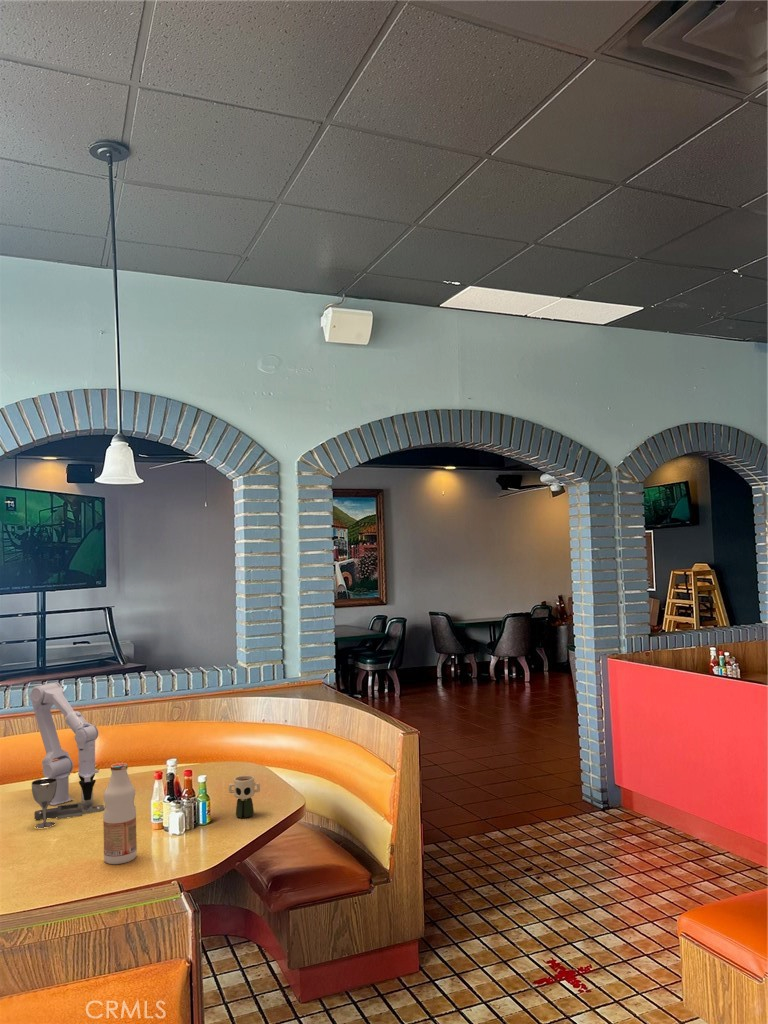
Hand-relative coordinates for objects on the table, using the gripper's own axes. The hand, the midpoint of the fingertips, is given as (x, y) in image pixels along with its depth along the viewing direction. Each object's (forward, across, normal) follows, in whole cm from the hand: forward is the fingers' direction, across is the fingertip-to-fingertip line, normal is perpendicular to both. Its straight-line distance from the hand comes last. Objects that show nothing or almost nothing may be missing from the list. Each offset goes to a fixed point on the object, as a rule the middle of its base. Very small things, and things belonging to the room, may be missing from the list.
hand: (87, 796), depth 285 cm
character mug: (+4, -38, -50) cm, 63 cm away
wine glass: (+3, -16, +14) cm, 21 cm away
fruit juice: (+4, -59, -8) cm, 59 cm away
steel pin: (+3, 0, 0) cm, 3 cm away
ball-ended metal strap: (+3, -7, +6) cm, 10 cm away
